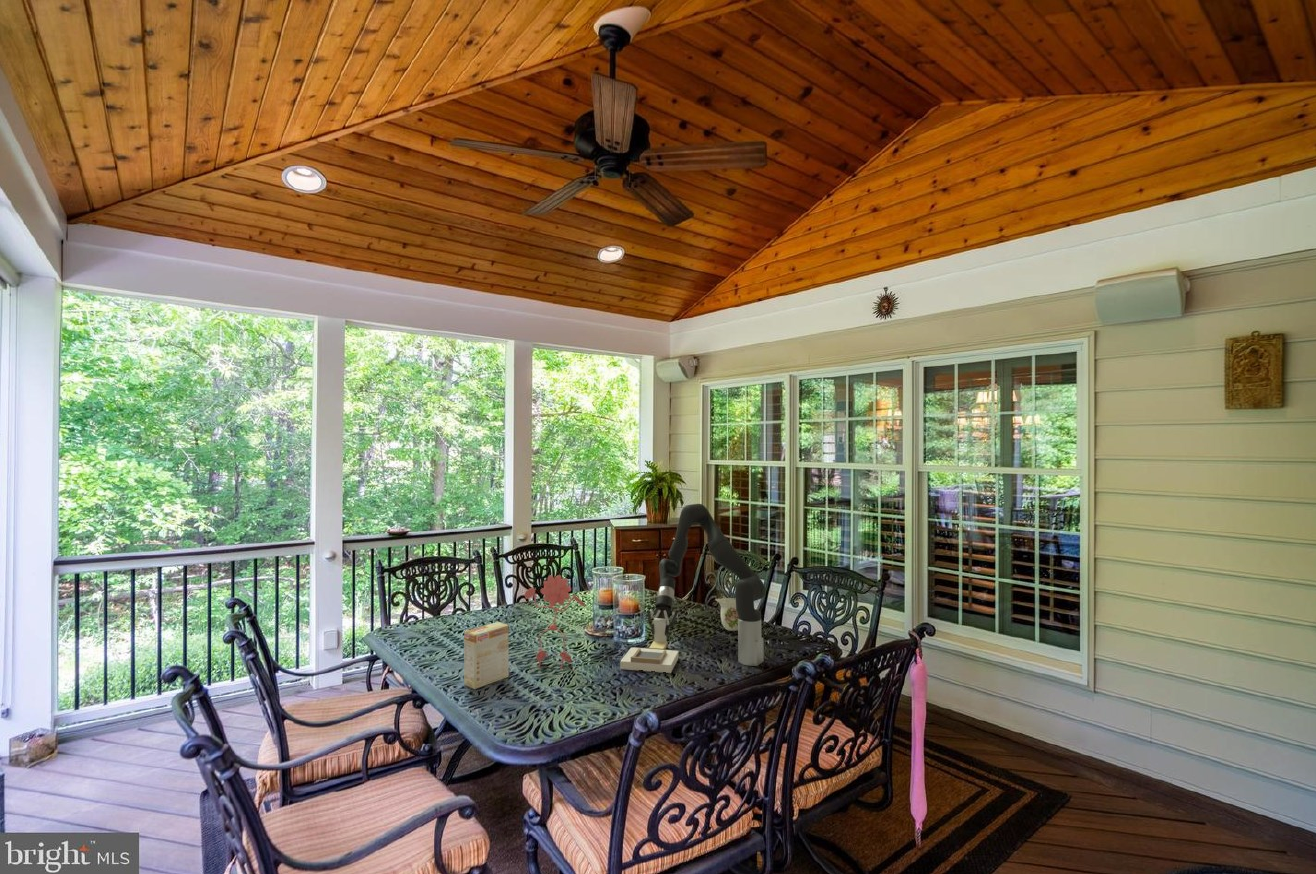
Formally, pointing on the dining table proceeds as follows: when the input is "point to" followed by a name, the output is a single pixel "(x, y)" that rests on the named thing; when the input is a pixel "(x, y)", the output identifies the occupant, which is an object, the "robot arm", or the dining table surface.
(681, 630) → the dining table surface
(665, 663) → the dock
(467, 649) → the coffeecake box
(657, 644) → the beige l-shaped block
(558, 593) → the red stick figure
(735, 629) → the pitcher
